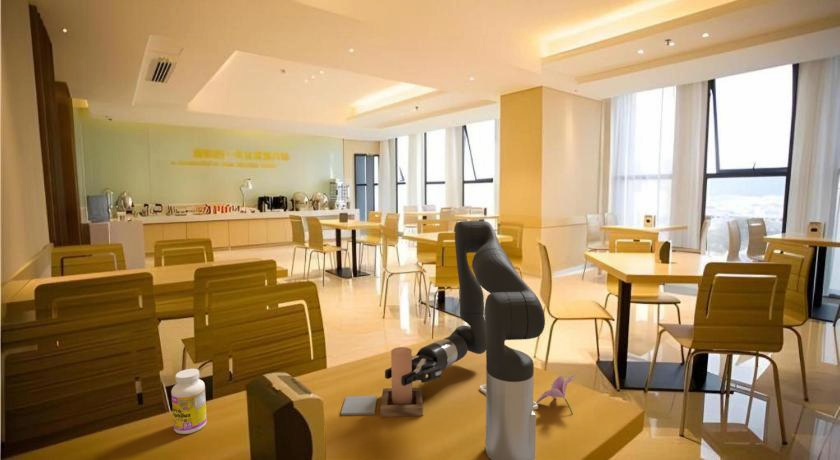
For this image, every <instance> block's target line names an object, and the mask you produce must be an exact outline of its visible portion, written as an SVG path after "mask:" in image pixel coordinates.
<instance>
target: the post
mask: <svg viewBox="0 0 840 460" xmlns="http://www.w3.org/2000/svg"><path fill="white" fill-rule="evenodd" d="M412 351H413V350H412V348H409V347H406V346H398V347H394V348H392V349H391V351H390V352H391V353H390V364H391V365H390V366H391V367H390V368H391V372H392V377H391V388H392V398H391V405H413V398H412V388H413V382H412V383H410V384H407V385H406V386H403V385H402V382H401V378H402V376H404V375H406V374H408V373H410V372H412V356H413V355H412V354H413V353H412Z"/></svg>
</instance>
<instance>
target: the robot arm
mask: <svg viewBox="0 0 840 460" xmlns="http://www.w3.org/2000/svg"><path fill="white" fill-rule="evenodd" d="M454 244H455V247H454V248H455V256H456V257H455V258H456V265H457V266H456V269H457V276H458V284H459V317H460V319H461V320H462V321H463V322H464V323H466V324H467V325H459V326H457V327H456V328H455V329H454V331H452V333H451V334H450V335H449V336H447V337H445V338H443V339H438V340H437V341H434V342H432V343H429V344H428V345H426V346H423V347H421V348H420V349H419V350H418V351H417V353H416V354H415V355H412V372H410V373H408V374H406V375H404V376H402V378H401V382H402V385H403V386H406V385H407V384H410V383H412V384H413V383H414V382H419V381H420V382H421V384H426V383H429V382H431V381H433V380H437V379H439V378H442V371H443V370H445V369H447V368H449V367H450V366H452V365H453V364H455V363H456V362H458V361H459V360H461V359H463V358H465V356H467V353H468V352H471V353H473V354H476V355H482V354H484V353H485V355H486V356H485V357H486V359H485V360H486V364H485V366H486V369H485V370H486V371H485V374H486V375H485V376H486V377H485V379H486V382H485V384H486V389H485V390H486V394H485V400H486V401H485V402H486V403H485V453H486V455H487V457H488V458H489V459H490V460H536V440H537V439H536V436H537V434H536V433H537V430H536V427H537V415H536V413H535V411H534V408H533V406H534V405H533V401H534V369H535V368H534V367H535V366H534V361H533V359H532V357H531V356H530V355H528V354H527V353H525V352H523V351H522V350H518V349H515V348H512V347H510V346H507V345H506V344H505V342H506V341H514V340H515V341H517V340H518V341H523V340H531V339H535V338H538V337H540V336H541V335H542V334H543V332H544V330H545V326H546V316H545V311H544V309H543V306H542V303H541V302H540V299H539V297H538V296H537V295H536V293H535V292H534V291H533V290H532V288H531V287H530V286H529V285H528V284H527V283H526V282H525V281H524V280H523V279H522V277H521V276H520V275H519V273H518V271H517V270H516V269H515V267H514V265H513V263H512V260H511V259H510V258H509V256H508V255H507V253H506V252H505V251H504V249H503V247H502V246H501V244H500V242H499V240H498V237H497V234H496V232H495V229H494V227H493V225H492V224H491V223H490V222H489V221H486V220H485V221H484V220H461V221H458V222H457V224H456V226H455V229H454ZM468 253H471V254H473V253H474V255H473V258H472V261H471V267H470V265H469V264H470V263H469V261H468V257H467V256H468ZM471 268H472V269H471ZM483 290H485V291H486V292H488V295H487V297H486V298H485V297H484V291H483ZM484 299H485V301H484ZM484 302H485V303H484ZM468 325H469V326H468ZM384 378H385V379H387V380H389V379H392V372H391V367H388V368H386V369H385V371H384Z"/></svg>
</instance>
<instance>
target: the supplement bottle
mask: <svg viewBox="0 0 840 460" xmlns="http://www.w3.org/2000/svg"><path fill="white" fill-rule="evenodd" d="M174 377H175V378H174V379H175V382H176V383H175V384H174V386H173V387H172V388H171V391H170V393H171V404H172V406H171V407H172V421H173V431H174V432H175V433H177V434H179V435H187V434H194V433H196V432H198V431H199V430H201V429H203V428H204V427H205V426H206V424H207V422H208V421H207V418H208V414H207V403H206V401H207V400H206V385H205V382H204V381H203V380H202V379H200V370H199V369H197V368H187V369H183V370H180V371H178V372H177V373H176V374H175V376H174Z"/></svg>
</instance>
